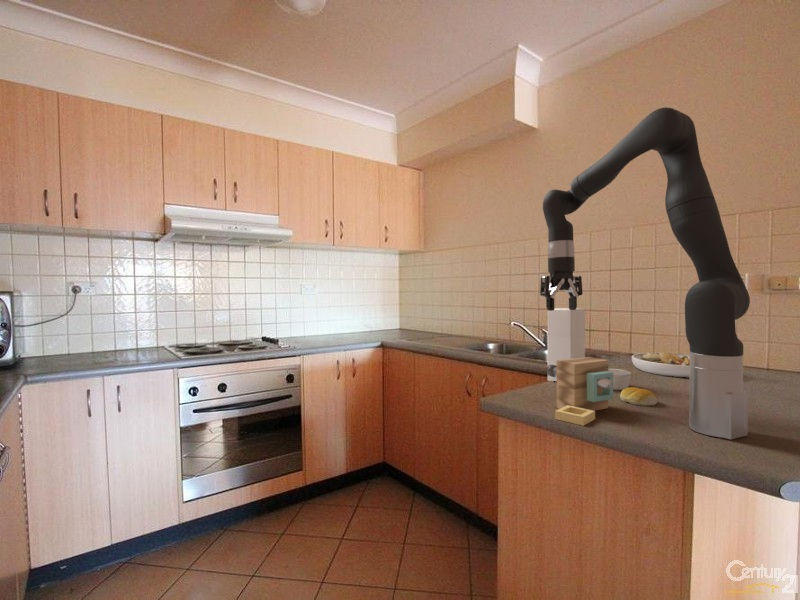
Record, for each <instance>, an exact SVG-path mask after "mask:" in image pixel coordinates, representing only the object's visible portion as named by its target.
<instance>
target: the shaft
mask: <svg viewBox="0 0 800 600" xmlns="http://www.w3.org/2000/svg"><path fill="white" fill-rule="evenodd" d="M546 367H547V368H546V374H547V376H548V375H549V376H551V377H556V376H557V366H556V365H549V366H548V365H547V366H546ZM597 386H598V387H601V388H605V389H610V388H611V387H612V381H611V380H609V379H605V378H602V379H597Z"/></svg>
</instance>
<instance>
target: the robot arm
mask: <svg viewBox="0 0 800 600" xmlns="http://www.w3.org/2000/svg"><path fill="white" fill-rule="evenodd" d="M651 150H653V151H655V152H657V153H658V154H659V155H660V158H661V160H662V163H663V166H664V169H665V171H666V176H667V178H666V179H667V183H666V189H665V190H666V192H665V201H664V203H665V211H666V214H667V219H668V221H669V225H670V229H671V231H672V233H673V235H674V237H675V238H676V240H677V242H678V243H679V244H680V246H681V247H682V249H683V251H685V254H687V255H688V257H689V259H690V260H691V261H692V264H693V266H694V268H695V271H696V274H697V279H698V281H699V282H696V283H694V284H693V285H692V286H691V287H690V288H689V290H688V291H687V293H686V296H685V300H684V323H685V324H684V325H685V329H684V330H685V337H686V340H687V342H688V344H689V355H690V376H689V378H688V379H689V387H688V388H689V389H688V390H689V391H688V394H689V399H688V401H689V402H688V403H689V405H688V407H689V409H688V413H689V415H688V427H689V429H690V430H692V431H694V432H697V433H700V434H702V435H706V436H711V437H717V438H721V439H727V440H736V439H740V438H742V437H747V436H748V425H749V422H748V419H749V418H748V417H749V416H748V409H749V406H748V405H749V393H748V391H747V390H745V389H744V344H743V342H742V340H740V338H739V337H738V336H737V332H736V320H739V319H741V318H742V317H743V316H745V314H746V313H747V312H748V310H749V307H750V304H751V299H750V294H749V292H748V289H747V287H746V284H745V282H744V281H743V278H742V276H741V273H740V272H739V270H738V267H737V266H736V263H735V261H734V258H733V255H732V252H731V250H730V247H729V241H728V239H727V238H728V237H727V236H726V232H725V229H724V225H723V222H722V219H721V214H720V211H719V208H718V204H717V200H716V198H715V195H714V193H713V190H712V188H711V184H710V182H709V178H708V175H707V173H706V170H705V168H704V166H703V162H702V159H701V154H700V148H699V143H698V138H697V132H696V127H695V123H694V121H693V119H692V118H691V117H690V116H689V115H687V114H686V113H684V112H681V111H679V110H677V109H674V108H672V107H665V106H664V107H660V108H658V109H657V108H656V109H655V110H653V111H652V112H651V113H649V114H648V115H647V116H645V118H643V119H642V120H641V121H639V123H638V124H636V126H634V127H633V128H632V130H630V131H629V133H628V134H626V135H625V136H624V137H623V138H622V139H621V140H620V141H619V142H618V143H617V144H616V145H615V146H613V147H612V149H610V150H609V151H608V152H607V153H606V154H605V155H603V157H601V158H600V159H599V160H597V161H596V162H595V163H593V164H592V165H591V166H589V167H588V168H587V169H585V170H584V171H582V172H581V173H580V174H578V175H576V177H574V178H573V179H572V181H571V182H570V189H568V190H561V189H550V190H549V191H547V193H546V194H545V196H544V197H543V199H542V211H543V215H544V220H545V222H546V226H547V230H548V232H547V233H548V234H547V235H548V237H547V239H548V240H547V241H548V243H547V244H548V246H547V272H548V273H549V275H542V276H540V285H539V287H540V289H539V290H540V292H539V295H540V296H541V297H545V302H546V303H545V304H546V305H545V306H546V307H545V308H546V310H547V312H548V311H554V308H555V295H556V294H557V293H558V292H559V291H564V292H565V293H566V294H567V295H568V296H569V297H568V308H569V310H576V308H577V307H578V300H577V299H578V298H579V296H582V295H583V281H582V280H583V279H582V277H583V276H581V275H573V273H574V272H575V270H576V266H575V265H576V264H575V262H576V260H575V243H574V227H573V224H572V222H570V221H569V220H567V219H566V216H568V215H571V214H573V213H574V212H576V211H578V209H579V208H581V207H582V205H584V203H586V201H587V200H588V199H590V197H592V196H594V195H595V194H597V193H599V192H600V191H601V190H603V189H605V188H606V187H607V186H608V185H610V184H611V183H612V182H613V181H614V180H615V179H616V178H617V177H618V175H619V174H620V173H621V171H622V170H623V169H625V168H626V166H627V165H628V164H629V163H631V162H632V161H634V159H636V158H638V157H639V156H641V155H643V154H645V153H647V152H649V151H651Z"/></svg>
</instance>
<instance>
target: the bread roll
mask: <svg viewBox="0 0 800 600" xmlns="http://www.w3.org/2000/svg"><path fill="white" fill-rule="evenodd" d="M619 397H620V400H621V401H622V402H624V403H628V402H629V404H630V405H634V406H640V405H641V406H644V407H648V406H649V407H651V405H652V406H655V405H656V404H657V403H658V397H657V395H656V394H655V393H653V392H652V391H651V390H648V389H645V388H642V389H641V388H639V387H634V386H633V387H632V386H629V387H628V388H626V389H624V390H621V392H620V394H619ZM641 406H640V407H641Z"/></svg>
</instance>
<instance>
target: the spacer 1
mask: <svg viewBox="0 0 800 600" xmlns="http://www.w3.org/2000/svg"><path fill="white" fill-rule="evenodd" d="M554 419H555V420H559V421H562V422H566V423H571V424H574V425H579V426H582V427H584V426H585V425H587V424H589V423H591V422H592V421H595V419H596V410H594V411H593V410H588V409H583V408H579V407H574V406H569V405H567V406H565V407H562V408H560V409H559V408H557V409H556V410H554Z"/></svg>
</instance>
